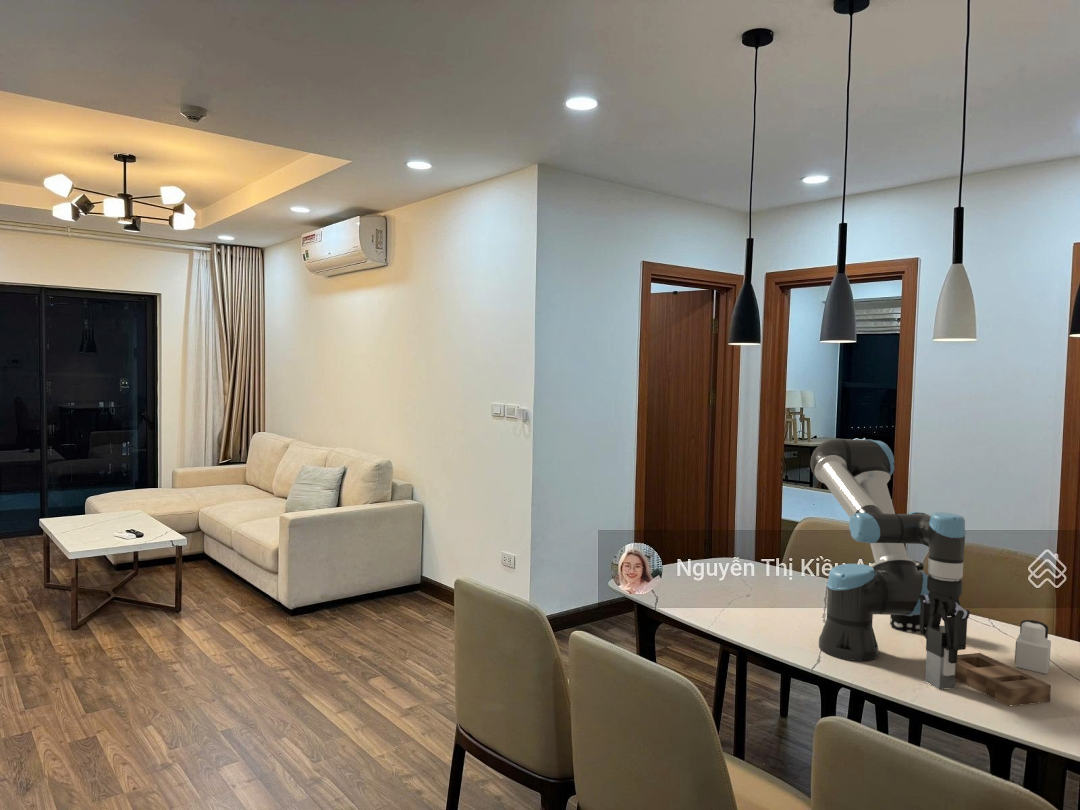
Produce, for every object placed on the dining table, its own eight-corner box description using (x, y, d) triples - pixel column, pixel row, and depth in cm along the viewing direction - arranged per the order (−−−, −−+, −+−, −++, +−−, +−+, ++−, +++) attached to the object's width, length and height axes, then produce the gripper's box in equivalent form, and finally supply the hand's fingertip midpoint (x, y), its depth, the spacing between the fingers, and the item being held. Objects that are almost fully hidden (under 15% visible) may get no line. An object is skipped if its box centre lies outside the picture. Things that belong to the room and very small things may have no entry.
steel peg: (939, 689, 175) (942, 632, 174) (925, 681, 179) (927, 626, 179) (954, 688, 176) (957, 631, 175) (940, 680, 180) (942, 625, 180)
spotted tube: (924, 633, 214) (927, 567, 213) (894, 631, 216) (897, 565, 215) (915, 624, 222) (918, 560, 221) (886, 621, 224) (889, 558, 223)
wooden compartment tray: (1008, 706, 167) (1009, 689, 167) (941, 671, 186) (941, 656, 186) (1049, 701, 170) (1050, 685, 170) (979, 667, 189) (980, 652, 189)
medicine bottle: (1017, 659, 196) (1019, 615, 195) (1049, 666, 191) (1052, 622, 191) (1014, 667, 190) (1016, 622, 190) (1047, 674, 186) (1049, 629, 185)
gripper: (987, 586, 169) (982, 684, 170) (930, 566, 186) (926, 655, 187) (961, 588, 167) (956, 686, 168) (905, 568, 184) (901, 657, 185)
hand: (940, 670), depth 178 cm, fingers closed on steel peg, 4 cm apart
